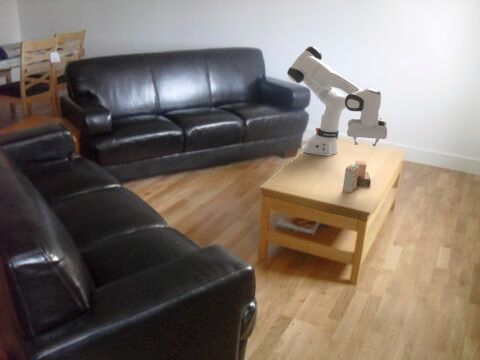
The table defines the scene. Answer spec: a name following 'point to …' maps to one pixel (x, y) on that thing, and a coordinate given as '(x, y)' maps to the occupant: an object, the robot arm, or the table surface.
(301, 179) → the table surface
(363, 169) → the terracotta block
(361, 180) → the plinth
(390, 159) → the table surface
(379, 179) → the table surface
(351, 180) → the supplement box
